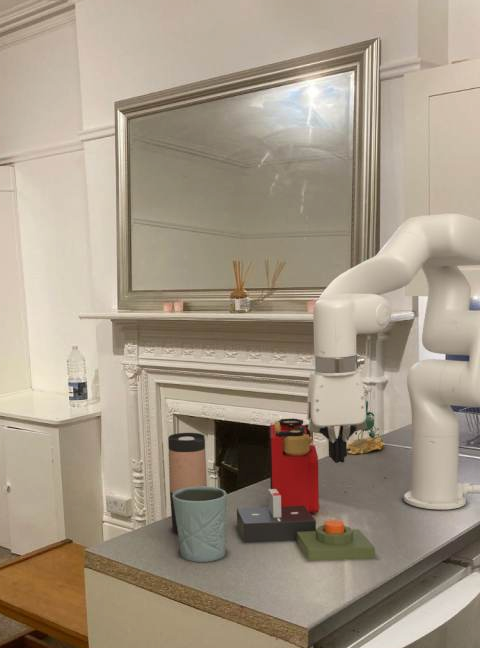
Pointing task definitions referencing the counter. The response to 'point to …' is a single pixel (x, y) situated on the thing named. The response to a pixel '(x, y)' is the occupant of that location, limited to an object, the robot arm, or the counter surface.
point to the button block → (335, 545)
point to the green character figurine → (368, 443)
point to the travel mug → (186, 464)
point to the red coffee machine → (294, 464)
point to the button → (334, 527)
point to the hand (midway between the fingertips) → (337, 460)
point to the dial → (274, 503)
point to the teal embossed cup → (201, 522)
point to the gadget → (273, 524)
